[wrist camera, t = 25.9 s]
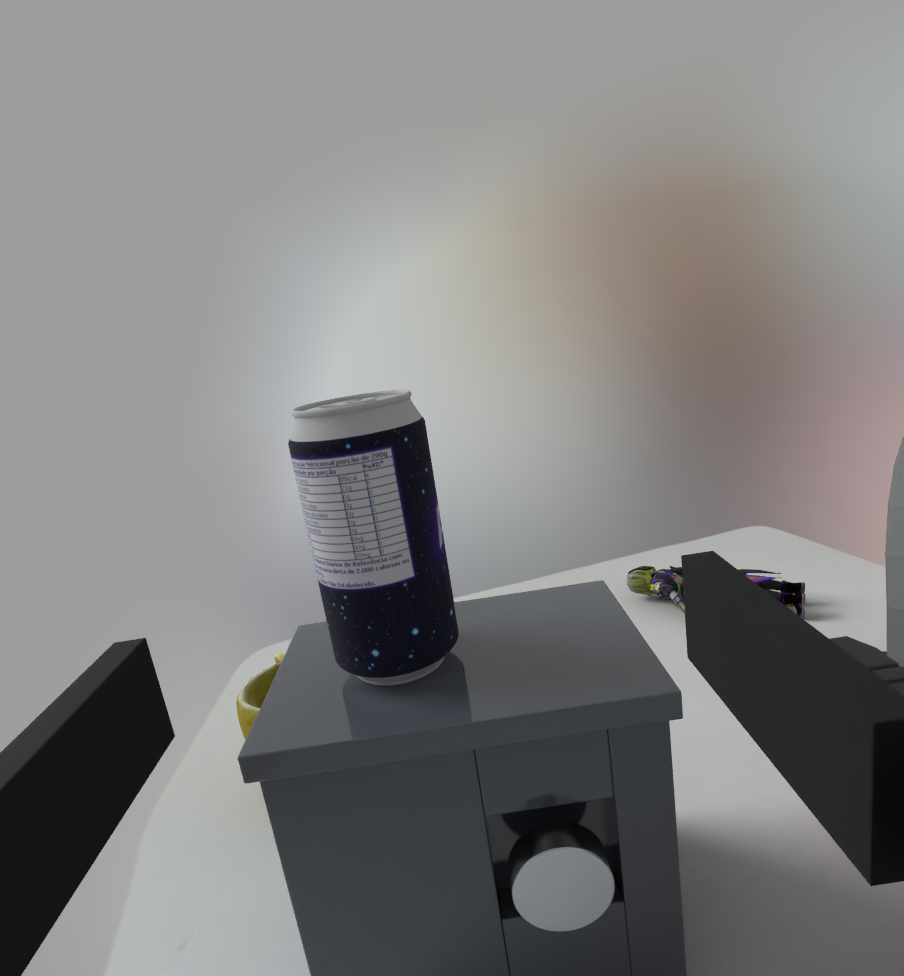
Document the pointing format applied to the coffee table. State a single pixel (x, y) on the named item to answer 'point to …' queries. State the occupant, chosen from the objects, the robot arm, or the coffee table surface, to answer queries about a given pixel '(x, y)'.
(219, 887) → the coffee table surface
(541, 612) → the cabinet
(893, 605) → the headphones
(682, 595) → the character figure
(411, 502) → the beverage can
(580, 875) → the flush button
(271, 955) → the coffee table surface
